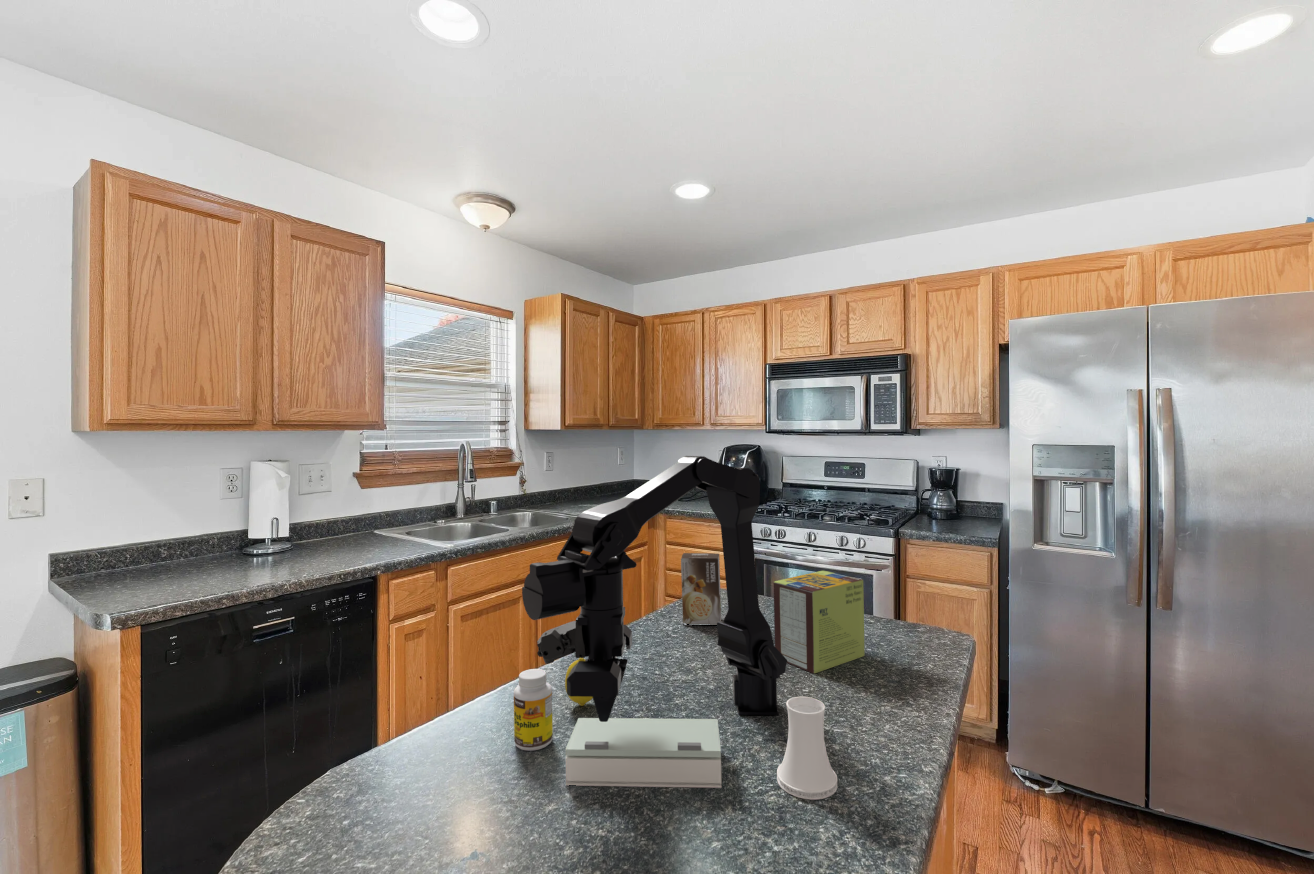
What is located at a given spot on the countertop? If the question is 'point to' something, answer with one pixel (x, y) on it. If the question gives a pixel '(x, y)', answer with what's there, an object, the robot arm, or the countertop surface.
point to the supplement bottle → (533, 711)
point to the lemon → (576, 699)
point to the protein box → (819, 620)
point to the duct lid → (645, 738)
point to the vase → (806, 752)
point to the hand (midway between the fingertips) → (603, 720)
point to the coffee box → (701, 588)
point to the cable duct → (643, 771)
